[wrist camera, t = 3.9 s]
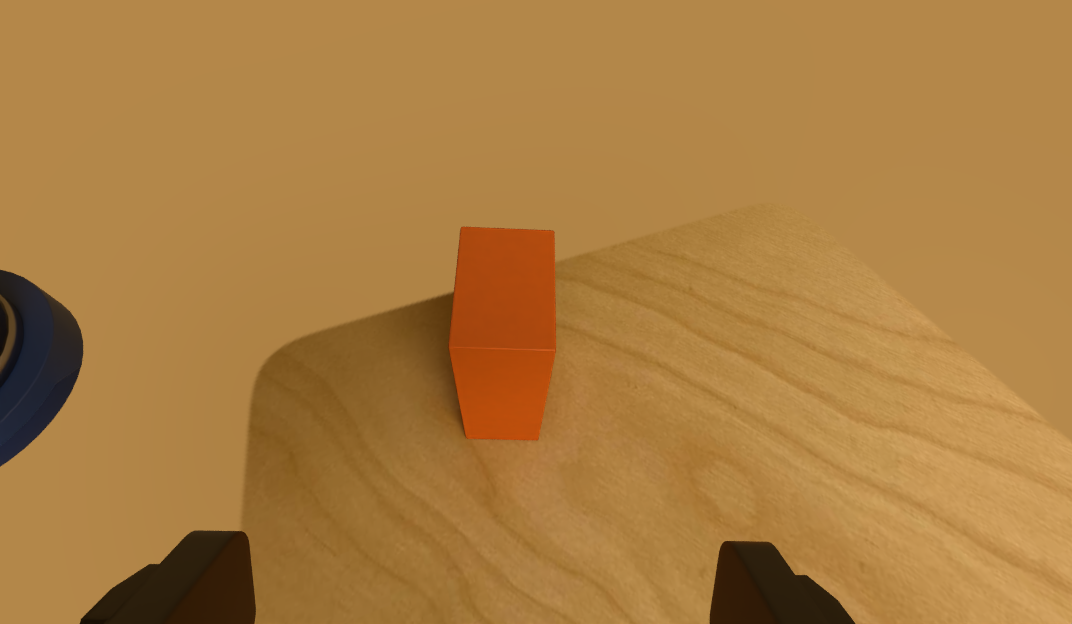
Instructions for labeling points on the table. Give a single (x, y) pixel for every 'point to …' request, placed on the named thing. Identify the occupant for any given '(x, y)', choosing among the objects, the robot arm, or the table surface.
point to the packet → (503, 330)
